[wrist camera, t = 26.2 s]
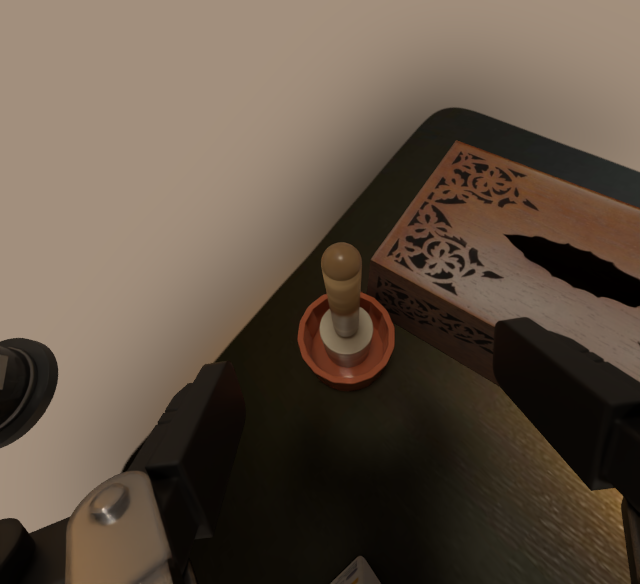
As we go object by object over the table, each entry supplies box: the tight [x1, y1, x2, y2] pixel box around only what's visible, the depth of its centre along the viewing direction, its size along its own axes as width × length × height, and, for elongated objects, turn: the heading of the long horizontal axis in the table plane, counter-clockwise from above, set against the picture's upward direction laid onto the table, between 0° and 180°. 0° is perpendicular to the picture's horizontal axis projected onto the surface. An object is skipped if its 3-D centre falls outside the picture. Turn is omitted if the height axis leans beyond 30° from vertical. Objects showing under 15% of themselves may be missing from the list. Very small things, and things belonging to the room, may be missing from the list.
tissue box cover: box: [367, 140, 640, 386], centre depth 26 cm, size 26×14×10 cm, turn 54°
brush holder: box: [298, 292, 395, 391], centre depth 28 cm, size 8×8×6 cm
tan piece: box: [320, 242, 373, 368], centre depth 23 cm, size 4×4×18 cm
